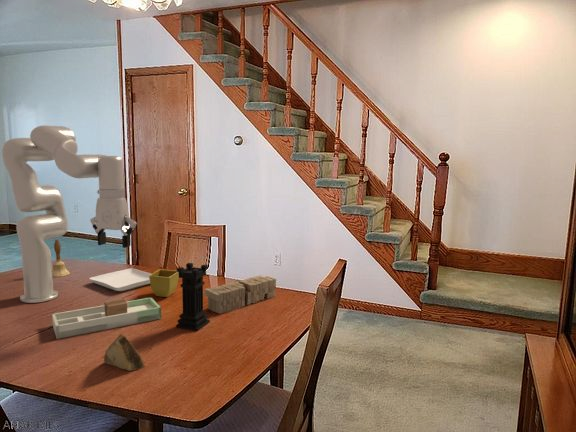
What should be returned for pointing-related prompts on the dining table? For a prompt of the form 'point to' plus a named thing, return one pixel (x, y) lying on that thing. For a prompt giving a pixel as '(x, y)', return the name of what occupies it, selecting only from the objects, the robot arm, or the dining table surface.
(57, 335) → the tray
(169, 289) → the flower pot
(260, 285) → the block tower
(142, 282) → the salad plate
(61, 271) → the hand bell
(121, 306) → the walnut block
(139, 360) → the rock
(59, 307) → the dining table surface
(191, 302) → the chess piece
